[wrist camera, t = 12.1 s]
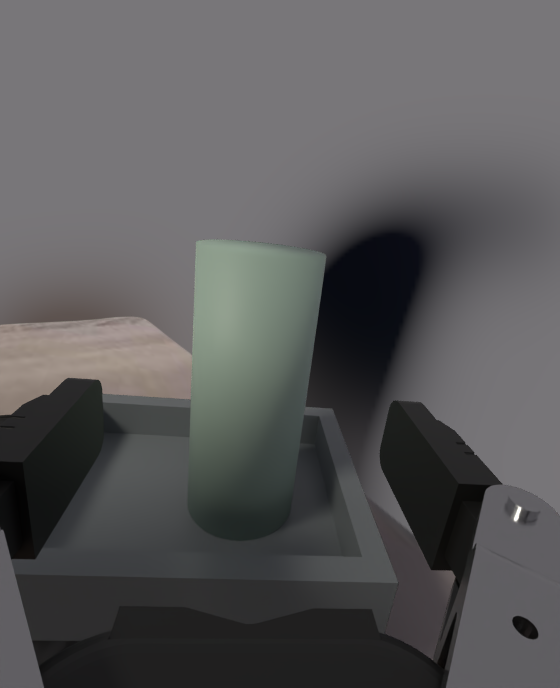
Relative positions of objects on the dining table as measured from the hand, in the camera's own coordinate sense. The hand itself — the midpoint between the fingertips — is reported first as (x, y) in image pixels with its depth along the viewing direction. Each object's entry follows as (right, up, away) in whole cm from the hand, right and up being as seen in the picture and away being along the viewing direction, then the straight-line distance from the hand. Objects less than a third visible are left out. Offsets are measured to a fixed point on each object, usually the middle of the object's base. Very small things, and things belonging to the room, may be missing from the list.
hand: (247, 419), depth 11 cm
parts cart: (-4, -10, +10) cm, 15 cm away
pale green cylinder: (-1, -5, +8) cm, 10 cm away
